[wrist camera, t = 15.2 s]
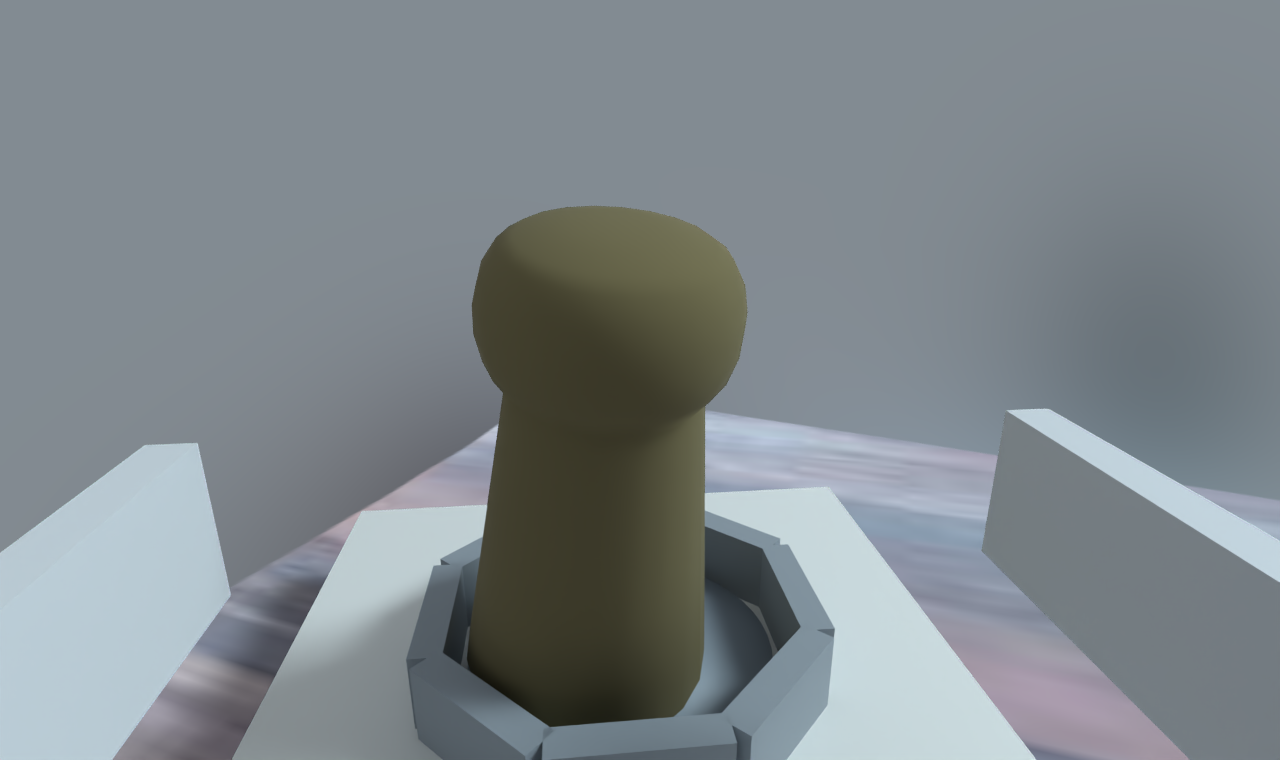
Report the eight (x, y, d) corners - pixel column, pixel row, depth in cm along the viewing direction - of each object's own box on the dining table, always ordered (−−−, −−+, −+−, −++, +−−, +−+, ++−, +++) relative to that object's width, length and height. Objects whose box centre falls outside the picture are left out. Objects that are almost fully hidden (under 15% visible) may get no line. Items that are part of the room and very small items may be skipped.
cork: (477, 777, 15) (455, 300, 10) (458, 570, 20) (435, 176, 15) (741, 720, 17) (850, 286, 11) (663, 541, 22) (713, 178, 16)
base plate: (822, 552, 30) (832, 440, 28) (1171, 1108, 13) (1247, 907, 11) (371, 580, 28) (354, 462, 26) (81, 1267, 11) (-17, 1057, 9)
